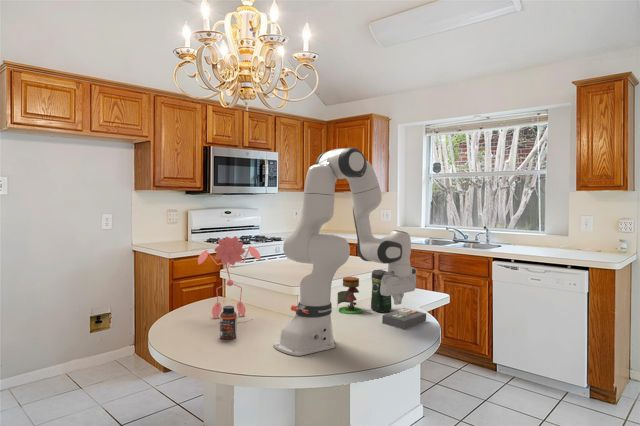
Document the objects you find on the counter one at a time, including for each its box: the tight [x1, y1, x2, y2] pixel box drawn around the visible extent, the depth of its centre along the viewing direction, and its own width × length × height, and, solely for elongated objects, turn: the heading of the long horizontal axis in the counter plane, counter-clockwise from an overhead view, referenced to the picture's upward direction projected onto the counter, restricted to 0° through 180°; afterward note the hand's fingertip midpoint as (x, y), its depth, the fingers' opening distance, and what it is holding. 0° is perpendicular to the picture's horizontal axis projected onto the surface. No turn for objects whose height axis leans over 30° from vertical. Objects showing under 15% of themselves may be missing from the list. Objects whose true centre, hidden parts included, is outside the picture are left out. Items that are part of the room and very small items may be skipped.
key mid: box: [398, 308, 411, 316], centre depth 179 cm, size 4×4×3 cm
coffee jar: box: [370, 269, 392, 313], centre depth 197 cm, size 10×8×19 cm
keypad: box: [381, 307, 427, 330], centre depth 179 cm, size 16×11×3 cm
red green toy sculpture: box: [336, 276, 363, 315], centre depth 196 cm, size 12×13×15 cm
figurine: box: [197, 235, 261, 325], centre depth 179 cm, size 15×26×35 cm, turn 105°
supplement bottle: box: [219, 305, 238, 340], centre depth 158 cm, size 6×6×11 cm
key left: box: [392, 314, 404, 319], centre depth 176 cm, size 4×4×3 cm
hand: (397, 304), depth 175 cm, fingers closed
